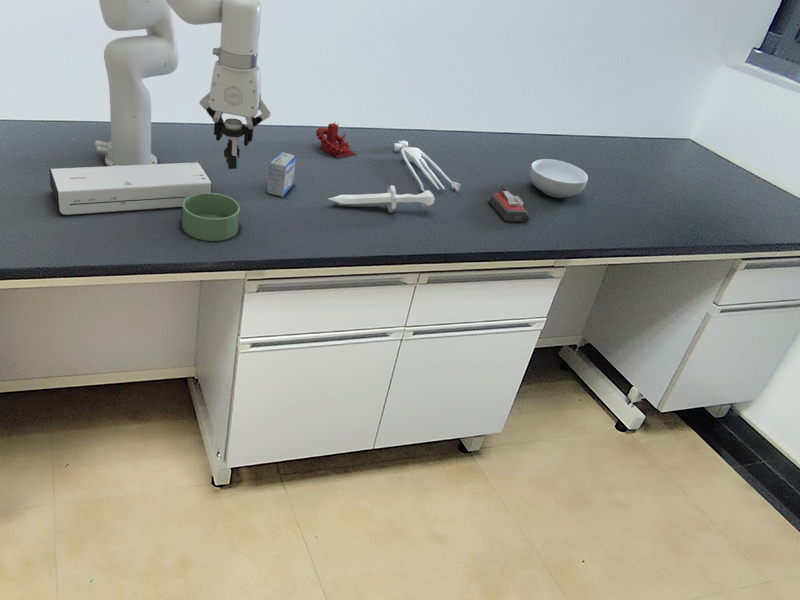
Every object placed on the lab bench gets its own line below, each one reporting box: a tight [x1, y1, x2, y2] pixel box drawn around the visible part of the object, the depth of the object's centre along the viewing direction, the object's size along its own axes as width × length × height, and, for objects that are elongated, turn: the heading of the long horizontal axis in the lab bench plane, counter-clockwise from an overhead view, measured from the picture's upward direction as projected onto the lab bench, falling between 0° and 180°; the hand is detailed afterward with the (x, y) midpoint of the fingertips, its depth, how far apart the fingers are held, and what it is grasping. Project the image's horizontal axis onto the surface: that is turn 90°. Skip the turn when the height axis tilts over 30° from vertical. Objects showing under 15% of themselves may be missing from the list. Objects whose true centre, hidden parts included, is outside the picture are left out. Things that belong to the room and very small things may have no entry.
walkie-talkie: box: [489, 184, 530, 223], centre depth 214 cm, size 9×4×20 cm
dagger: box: [327, 185, 435, 213], centre depth 198 cm, size 8×6×28 cm
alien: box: [393, 140, 462, 192], centre depth 224 cm, size 12×32×5 cm, turn 24°
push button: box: [221, 117, 247, 170], centre depth 167 cm, size 7×5×10 cm
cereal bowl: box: [529, 158, 589, 199], centre depth 227 cm, size 17×17×7 cm
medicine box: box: [266, 151, 297, 198], centre depth 196 cm, size 8×4×9 cm, turn 168°
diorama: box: [315, 122, 356, 159], centre depth 223 cm, size 11×12×8 cm
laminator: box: [48, 162, 213, 216], centre depth 180 cm, size 34×12×6 cm, turn 118°
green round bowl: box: [181, 192, 241, 242], centre depth 175 cm, size 13×13×6 cm
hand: (233, 140), depth 167 cm, fingers closed on push button, 5 cm apart
